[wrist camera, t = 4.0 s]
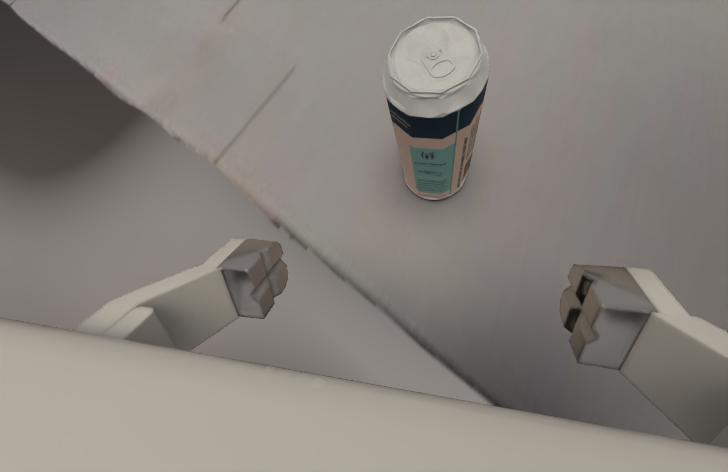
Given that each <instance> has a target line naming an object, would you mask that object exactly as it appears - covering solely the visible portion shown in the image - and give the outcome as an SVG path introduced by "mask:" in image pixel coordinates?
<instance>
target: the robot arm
mask: <svg viewBox="0 0 728 472" xmlns="http://www.w3.org/2000/svg"><path fill="white" fill-rule="evenodd" d="M282 255H283V250H282V247H281V245H280V244H279V243H278V242H276V241H265V240H255V239H244V238H233V239H231V240H230V241H228V242H227V243H226V244H225V245H224V246H223V247H222V248H220V249H219V250H218V251H217V252H216V253H215V254H214V255H213V256H211V257H210V258H209V259H208V260H207V261H206V262H205V263H204V264H203V265H201V266H195V267H192V268H190V269H187V270H185V271H183V272H180V273H177V274H175V275H172V276H170V277H168V278H165V279H162V280H160V281H157V282H155V283H153V284H150V285H148V286H145V287H143V288H140V289H138V290H135V291H133V292H130V293H127V294H125V295H123V296H120V297H118V298H115V299H113V300H110V301H109V302H108V303H107V304H105V305H104V306H103V307H101V308H100V309H99V310H97V311H96V312H95V313H93V314H92V315H91V316H89V317H88V318H87V319H86V320H84V321H83V322H82V323H80V324H79V325H78V326H76V327H75V328H74V329H72V330H68V329H62V328H57V327H51V326H46V325H40V324H34V323H29V322H23V321H18V320H12V319H6V318H0V472H728V332H726V331H724V330H723V329H721V328H719V327H717V326H715V325H713V324H711V323H709V322H708V321H706V320H704V319H702V318H700V317H694V316H690V315H689V314H688V313H687V311H686V310H685V309H684V308H683V307H682V306H681V304H680V303H679V302H678V301H677V300H676V299H675V297H674V296H673V295H672V294H671V293H670V291H669V290H668V289H667V288H666V287H665V286H664V284H663V283H662V282H661V281H660V280H659V278H658V277H657V276H656V275H655V274H654V273H653V271H651V270H649V269H647V268H638V267H611V266H595V265H578V264H574V265H573V266H572V268H571V269H570V272H569V275H568V279H569V281H570V283H571V286H569V287H568V288H566V289H565V290H564V291H563V293H562V297H561V300H560V315H561V320H562V323H563V326H564V327H565V328H566V329H567V330H569V331H570V332H571V333H572V334H571V337H570V340H569V342H570V344H571V347H572V350H573V352H574V355H575V357H576V360H577V363H579V364H585V365H591V366H597V367H604V368H610V369H616V370H620V371H619V372H620V373H621V374H622V375H623V376H624V377H625V378H626V379H627V380H628V381H629V382H631V383H632V384H633V385H634V386H635V387H636V388H637V389H638V390H639V391H640V392H641V393H642V394H643V395H644V396H645V397H646V398H647V399H648V400H649V401H650V402H652V403H653V404H654V405H655V406H656V407H657V408H658V409H659V410H660V411H661V412H662V413H663V414H664V415H665V416H666V417H667V418H668V419H669V420H670V421H671V422H673V423H674V424H675V425H676V426H677V427H678V428H679V429H680V430H681V431H682V432H683V433H684V434H685V435H686V436H687V437H688V438H689V439H690V440H691V441H686V440H681V439H675V438H669V437H664V436H658V435H653V434H647V433H642V432H636V431H630V430H625V429H619V428H614V427H608V426H603V425H597V424H591V423H586V422H580V421H575V420H569V419H564V418H558V417H552V416H547V415H541V414H536V413H530V412H525V411H519V410H514V409H508V408H502V407H497V406H491V405H485V404H480V403H475V402H468V401H463V400H458V399H452V398H446V397H441V396H436V395H430V394H425V393H419V392H414V391H408V390H402V389H397V388H391V387H386V386H380V385H374V384H369V383H363V382H358V381H352V380H346V379H341V378H335V377H330V376H324V375H318V374H313V373H307V372H302V371H296V370H290V369H285V368H280V367H274V366H269V365H263V364H257V363H252V362H246V361H241V360H235V359H230V358H224V357H218V356H213V355H207V354H201V353H196V352H191V350H192V349H194V348H195V347H196V346H198V345H200V344H201V343H202V342H204V341H205V340H207V339H208V338H210V337H211V336H213V335H214V334H216V333H217V332H219V331H220V330H221V329H223V328H224V327H226V326H227V325H229V324H230V323H231V322H233V321H235V320H236V319H237V318H239V317H238V316H241V317H250V318H259V319H264V318H265V317H266V315H267V314H268V312H269V311H270V309H271V308H272V307H273V305H274V297H276V296H278V295H280V294H281V293H282V292H283V290H284V289H285V286H286V283H287V279H288V270H287V266H286V264H285V263H284V262H283V261H282V260H281V259H280V258H281V257H282Z"/></svg>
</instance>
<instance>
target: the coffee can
mask: <svg viewBox="0 0 728 472" xmlns="http://www.w3.org/2000/svg"><path fill="white" fill-rule="evenodd" d="M489 69H490V61H489V56H488V53H487V51H486V49H485V47H484V45H483V43H482V41H481V39H480V37H479V36H478V33H477V30H476V29H475V28H473V27H471V26H470V25H468V24H467V23H465V22H463V21H462V20H460V19H459V18H457V17H455V16H446V17H426V18H424V19H422V20H420V21H418V22H417V23H415V24H413V25H411V26H409V27H408V28H406V29H404V30H402V31H401V32H400V34H399V36H398V37H397V39H396V41H395V42H394V44H393V46H392V47H391V49H390V51H389V53H388V57H387V59H386V61H385V63H384V66H383V70H382V85H383V90H384V92H385V95H386V98H387V102H388V106H389V110H390V115H391V119H392V123H393V127H394V132H395V136H396V140H397V145H398V149H399V153H400V157H401V162H402V166H403V170H404V177H405V181H406V184H407V185H408V187H409V189H410V190H411V191H412V192H414V193H415V194H416V195H418V196H420V197H422V198H425V199H431V200H438V199H444V198H446V197H449V196H451V195H453V194H454V193H456V192H457V191H458V190H459V189H460V188H461V187H462V186H463V184H464V182H465V180H466V178H467V174H468V170H469V165H470V160H471V156H472V151H473V147H474V142H475V137H476V133H477V128H478V123H479V119H480V114H481V109H482V105H483V100H484V95H485V91H486V86H487V82H488V77H489Z"/></svg>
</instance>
